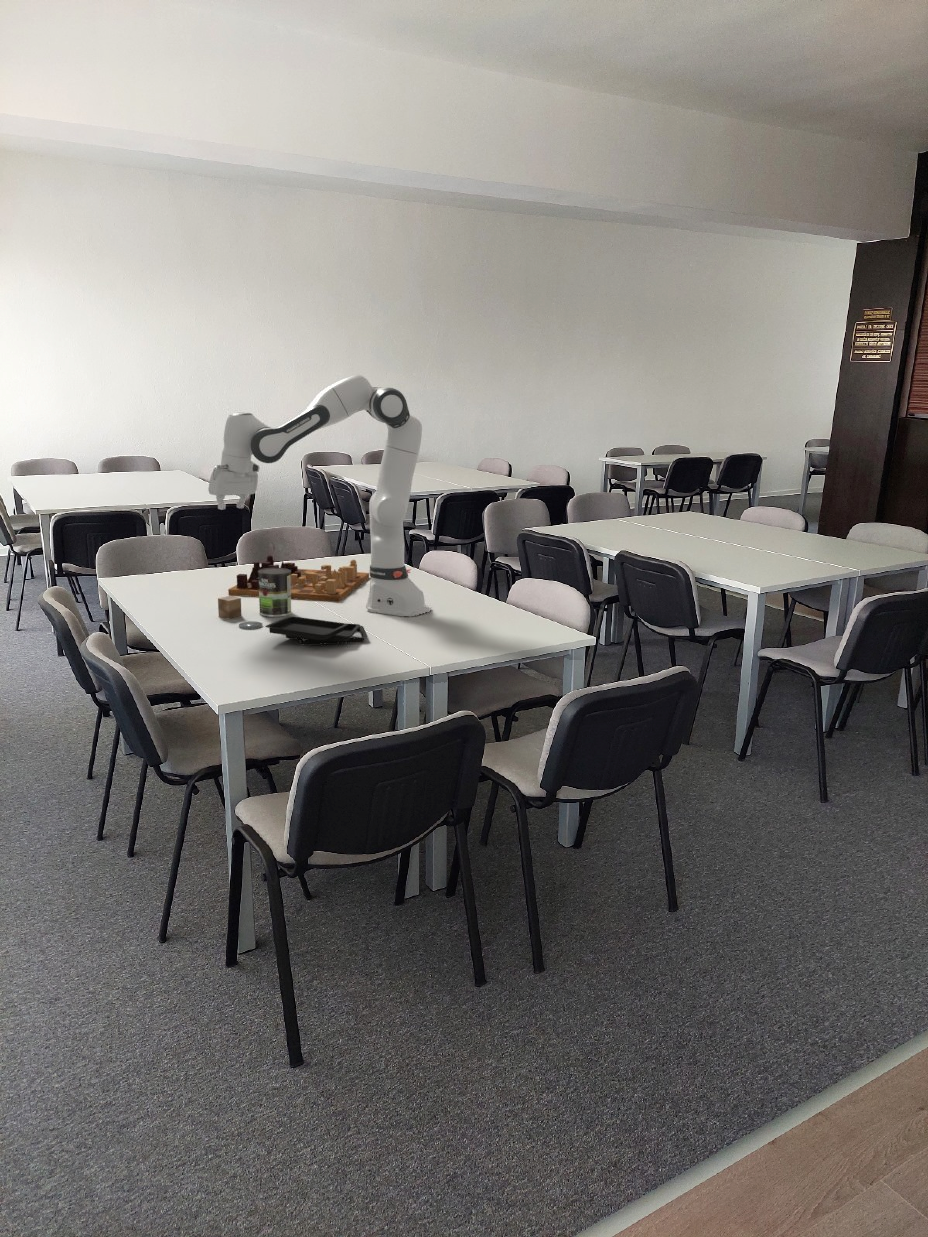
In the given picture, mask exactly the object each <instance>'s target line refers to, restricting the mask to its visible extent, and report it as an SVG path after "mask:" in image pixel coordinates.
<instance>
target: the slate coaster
mask: <svg viewBox="0 0 928 1237" xmlns="http://www.w3.org/2000/svg"><path fill="white" fill-rule="evenodd" d="M262 627H263V622H259V621H243V622H240V623H239V624H238V628H239V629H242V630H257V629H261V628H262Z"/></svg>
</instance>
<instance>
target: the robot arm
mask: <svg viewBox="0 0 928 1237" xmlns="http://www.w3.org/2000/svg"><path fill="white" fill-rule="evenodd" d="M361 411H366V412H367V413H368V414H369V415H370V416H371V418H373V419H375V420H376V421H377V422H380V423H384V424H385V425H386V426H387V439H386V442H385V444H384V445H385V446H384V448H383V449H384V450H383V453H382V458H381V463H380V466H379V472H378V477H377V478H378V479H377V483H376V484H377V485H376V491H375V492H373V494H372V495H371V497H370V499H369V505H368V506H369V507H368V508H369V511H368V513H369V514H368V515H369V532H370V533H369V534H370V565H369V578H370V584H369V591H368V592H369V593H368V598H367V603H366V605H365V606H366V608H367V612H369V613H376V612H377V614H385V615H389V616H390V615H391V616H392V615H393V616H398V617H404V616H409V617H415V615H416V616H420V615H419V614H421V615H423V614H422V613H424V612H427V613H429V612H431V611H432V606H431V605H427V604H426V603H425V595H424V592H423V591H422V590H421V589H420V588H419V587H418V586H417V585H416V583H415V582H414V581H412V579H411V578H410V577H409V574H410V573H411V569H407V567H406V565H405V536H404V524H403V523H404V521H405V520H406V516H407V513H408V512H407V511H408V507H409V503H410V496H411V490H412V484H413V477H414V473H415V470H416V466H417V461H418V458H419V455H420V454H419V453H420V449H421V444H422V437H423V436H422V435H423V434H422V433H423V425H422V422H421V421H420V420H419V419H418V418H417V417H415V416H413V415H411V414H410V410H409V407H408V402H407V399H406V396H405V395H404V394H403V393H402V392H401V391H400V390H398V389H396V388H393V387H390V386H383V387H381V386H380V387H379V386H378V387H376V386H375V387H374V386H373V385H371V383H370V381H369V380H368V379H367V378H366V377H365V376H363V375H361V374H353V375H351V376H348V377H344V378H343V379H340V380H338V381H335V382H334V383H332V384H331V385H329V386H326V388H323V389H322V391H320V392H318V393H317V394H316V395H315V396H314V397H313V398H312V399H311V401H310V402H309V404H308V406H307V408H306V409H305V410H303V411H302V412H301V414H299V415H297V416H296V417H294V418H292V419H291V420H289V421H287V422H286V423H283V424H282V425H280V426H277V427H276V428H275V427H274V428H273V427H271V426H269V425H268V424H265V423H264V422H262V421H261V420H259V419H258V418H257V417H256V416H255V415H254V414H253V413H251V412H233V413H231V414H230V415H229V416H228V417H227V418H226V420H225V426H224V431H223V445H224V446H223V448H222V451H221V461H220V464H217V465H216V466H215V467H214V468H213V470H212V472H211V474H210V479H209V484H208V488H207V489H208V490H207V492H208V493H209V495H213V496H216V497H215V498H216V502H217V509H218V510H221V511H222V510H223V511H224V510H226V507H227V504H226V503H225V497H226V496H238V495H239V499H238V501H237V502H236V508H238V509H244V507H245V503H246V501H247V499H248V495H254V494H256V492H257V489H258V481H259V480H258V479H259V474H258V473H259V472H260V468H261V467H260V465H259V464H257V463H256V462H253V461H252V455H253V456H254V458H255V459H256V460H257V461H259V462H261V463H264V464H273V463H276V462H278V461H279V460H280V459H282V457H283V456H284V455H285V453H286V452H287V450H288V449H289V448H290V447H291V446H293V445H294V444H295V443H297V442H299V441H301V440H302V439H304V438H305V437H307V436H308V435H310V434H312V433H313V432H316V431H318V430H321V429H323V428H327V427H330V426H333V425H336V424H337V423H340V422H342V421H345V420H346V419H348V418H350V417H352V416H353V415H355V414H356V413H358V412H359V413H360V412H361ZM430 610H431V611H430ZM424 614H425V613H424Z"/></svg>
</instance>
